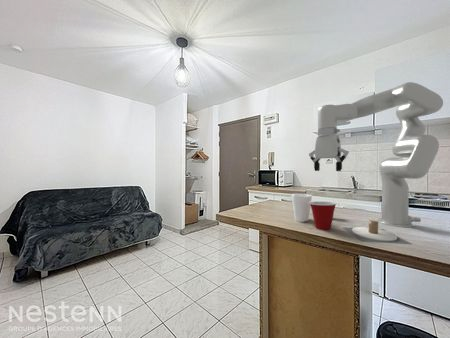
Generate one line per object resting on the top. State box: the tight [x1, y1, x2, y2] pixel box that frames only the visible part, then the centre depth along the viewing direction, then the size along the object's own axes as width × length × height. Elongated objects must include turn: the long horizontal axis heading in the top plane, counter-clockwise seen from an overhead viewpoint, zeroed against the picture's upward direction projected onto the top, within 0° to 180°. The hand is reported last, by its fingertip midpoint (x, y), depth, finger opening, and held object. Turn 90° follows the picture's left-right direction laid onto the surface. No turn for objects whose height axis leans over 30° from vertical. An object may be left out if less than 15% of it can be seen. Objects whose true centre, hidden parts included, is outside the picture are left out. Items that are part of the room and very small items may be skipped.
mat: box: [342, 226, 412, 245], centre depth 77 cm, size 16×16×1 cm
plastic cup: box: [309, 201, 338, 231], centre depth 85 cm, size 11×11×12 cm
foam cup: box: [291, 193, 313, 223], centre depth 99 cm, size 10×9×13 cm
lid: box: [352, 219, 398, 242], centre depth 77 cm, size 14×14×5 cm
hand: (327, 170), depth 88 cm, fingers open, 9 cm apart
